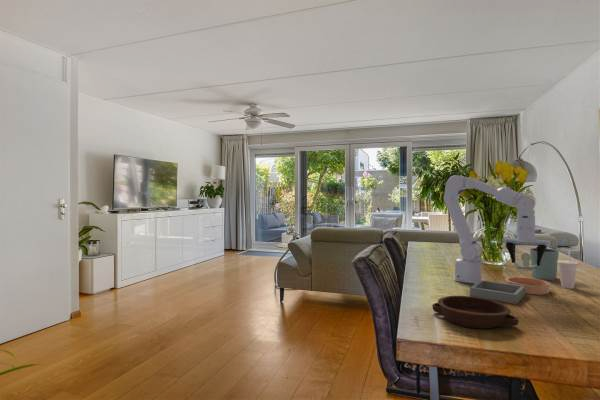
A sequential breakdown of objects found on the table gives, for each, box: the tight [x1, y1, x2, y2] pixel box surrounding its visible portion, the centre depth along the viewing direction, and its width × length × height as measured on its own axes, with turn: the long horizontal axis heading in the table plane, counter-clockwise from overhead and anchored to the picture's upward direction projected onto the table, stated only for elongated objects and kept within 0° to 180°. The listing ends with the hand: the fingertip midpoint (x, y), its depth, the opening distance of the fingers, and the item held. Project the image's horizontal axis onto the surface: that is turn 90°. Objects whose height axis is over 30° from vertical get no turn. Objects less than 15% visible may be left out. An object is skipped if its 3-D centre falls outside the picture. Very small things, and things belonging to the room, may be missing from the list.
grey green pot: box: [529, 247, 560, 281], centre depth 146 cm, size 10×10×12 cm
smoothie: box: [557, 250, 579, 290], centre depth 130 cm, size 6×6×14 cm
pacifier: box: [514, 252, 537, 272], centre depth 128 cm, size 7×6×6 cm
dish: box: [431, 295, 520, 330], centre depth 97 cm, size 18×22×5 cm
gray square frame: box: [469, 279, 526, 305], centre depth 121 cm, size 14×14×3 cm
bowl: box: [504, 276, 551, 295], centre depth 128 cm, size 14×14×3 cm
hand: (525, 263), depth 129 cm, fingers closed on pacifier, 7 cm apart
